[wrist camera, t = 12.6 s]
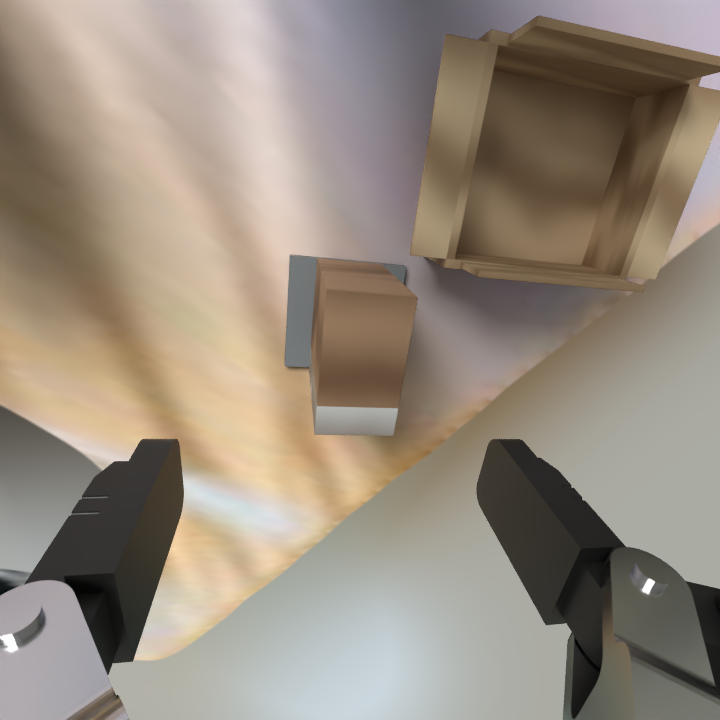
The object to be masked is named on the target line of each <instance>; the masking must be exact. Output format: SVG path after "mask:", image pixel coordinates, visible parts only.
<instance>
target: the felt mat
mask: <svg viewBox="0 0 720 720" xmlns="http://www.w3.org/2000/svg"><path fill="white" fill-rule="evenodd" d="M317 258H320V257H309V256H299V255H290V265H289V285H288V306H287V327H286V347H285V366H292V367H309V360H310V346H311V333H312V320H313V306H314V293H315V279H316V266H317ZM321 259H331V258H321ZM332 260H341V259H332ZM343 261H352V260H343ZM353 262H362V261H353ZM364 263H373V262H364ZM374 264H382V265H383V266H384V267H385V268H386V269H387V270H389V271H390V272H391V273H392V274H393V275H394V276H395V277H396V278H397V279H398V280H399V281H400V282H401V283H402V284H404V278H405V272H406V266H404V265H394V264H384V263H374Z"/></svg>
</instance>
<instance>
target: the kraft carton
mask: <svg viewBox="0 0 720 720" xmlns="http://www.w3.org/2000/svg"><path fill="white" fill-rule="evenodd" d="M718 72H720V57H719V56H714V55H710V54H706V53H701V52H697V51H692V50H688V49H684V48H679V47H675V46H670V45H666V44H662V43H657V42H653V41H648V40H644V39H640V38H635V37H631V36H626V35H622V34H618V33H613V32H609V31H604V30H600V29H596V28H591V27H587V26H582V25H578V24H574V23H569V22H565V21H560V20H556V19H552V18H547V17H543V16H537V17H535V18H534V19H532V20H531V21H530V22H528V23H527V24H525V25H524V26H522V27H521V28H519V29H518V30H516V31H515V32H513V33H512V34H510V33H506V32H501V31H496V30H492V29H491V30H490V31H489V32H487V33H486V34H485V35H484V36H482V37H481V38H480V39H478V40H474V39H469V38H464V37H459V36H455V35H450V34H446V35H445V39H444V45H443V51H442V57H441V64H440V70H439V76H438V82H437V88H436V95H435V101H434V107H433V113H432V119H431V125H430V132H429V138H428V144H427V150H426V156H425V163H424V169H423V175H422V181H421V187H420V194H419V200H418V206H417V212H416V218H415V225H414V231H413V237H412V243H411V249H410V255H412V256H422V257H426V258H428V259H430V260H432V261H433V262H435V263H437V264H439V265H440V266H442V267H444V268H452V269H463V270H465V271H467V272H469V273H471V274H473V275H475V276H477V277H483V278H494V279H504V280H515V281H526V282H537V283H548V284H559V285H570V286H580V287H591V288H602V289H613V290H624V291H635V292H644V289H645V286H642V285H639V284H636V283H632V282H629V281H626V278H627V277H633V278H643V279H653V280H655V279H656V277H657V274H658V272H659V269H660V267H661V265H662V262H663V260H664V257H665V255H666V252H667V250H668V247H669V245H670V242H671V240H672V237H673V235H674V232H675V230H676V227H677V225H678V222H679V220H680V217H681V215H682V212H683V210H684V207H685V205H686V202H687V200H688V197H689V195H690V192H691V190H692V188H693V185H694V183H695V180H696V178H697V175H698V173H699V170H700V168H701V165H702V163H703V160H704V158H705V155H706V153H707V150H708V148H709V145H710V143H711V140H712V138H713V135H714V133H715V130H716V128H717V125H718V123H719V120H720V91H719V90H714V89H709V88H704V87H699V86H698V85H699V82H700V80H701V77H703V76H706V75H710V74H714V73H718Z"/></svg>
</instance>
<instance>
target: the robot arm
mask: <svg viewBox="0 0 720 720" xmlns="http://www.w3.org/2000/svg"><path fill="white" fill-rule="evenodd" d="M183 498H184V487H183V477H182V466H181V456H180V446H179V442H178V440H177V439H142V440H141V441H140V442H139V444H138V446H137V448H136V449H135V451H134V453H133V455H132V456H131V458H130V460H129V461H115V462H113V463H112V464H111V465H109V466H108V467H107V468H106V469H104V470H103V471H102V472H100V473H99V474H98V475H97V476H95V477H94V479H93V480H92V482H91V483H90V485H89V486H88V488H87V489H86V491H85V492H84V494H83V495H82V499H81V500H79V502H78V503H77V505H76V506H75V508H74V509H73V511H72V515H71V516H69V517H68V518H67V520H66V521H65V523H64V525H63V526H62V527H61V529H60V531H59V532H58V534H57V535H56V537H55V538H54V540H53V541H52V543H51V544H50V546H49V547H48V549H47V551H46V552H45V554H44V555H43V557H42V558H41V560H40V561H39V563H38V564H37V566H36V567H35V569H34V570H33V572H32V573H31V575H30V577H29V578H28V580H27V581H26V582H25V584H24V585H22V586H19V587H17V588H15V589H12V590H10V591H8V592H6V593H4V594H3V595H1V596H0V720H129V717H128V715H127V713H126V710H125V708H124V706H123V703H122V701H121V699H120V697H119V696H118V695H117V696H116V694H115V692H114V690H113V688H112V685H111V683H110V680H109V678H108V674H109V671H110V669H111V666H112V663H121V662H132V661H133V659H134V656H135V653H136V650H137V647H138V644H139V641H140V638H141V635H142V632H143V629H144V626H145V623H146V620H147V617H148V614H149V611H150V608H151V605H152V601H153V598H154V595H155V592H156V589H157V586H158V583H159V580H160V577H161V574H162V571H163V568H164V565H165V562H166V559H167V556H168V553H169V550H170V547H171V544H172V541H173V538H174V535H175V531H176V528H177V525H178V522H179V519H180V516H181V512H182V507H183ZM477 498H478V502H479V505H480V507H481V509H482V511H483V513H484V515H485V516H486V518H487V520H488V522H489V524H490V526H491V527H492V529H493V531H494V533H495V534H496V536H497V538H498V540H499V542H500V543H501V545H502V547H503V549H504V550H505V552H506V554H507V556H508V558H509V560H510V561H511V563H512V565H513V567H514V569H515V570H516V572H517V574H518V576H519V577H520V579H521V581H522V583H523V585H524V586H525V588H526V590H527V592H528V594H529V595H530V597H531V599H532V601H533V603H534V605H535V606H536V608H537V610H538V612H539V613H540V615H541V617H542V619H543V621H544V623H545V624H546V625H552V624H563V623H567V625H568V626H569V628H570V629H571V631H572V633H571V635H570V637H569V639H568V644H567V660H566V676H565V695H564V709H563V720H720V589H717V588H713V587H709V586H704V585H700V584H696V583H691V582H687V581H685V580H684V579H683V578H682V577H681V576H680V574H679V573H677V572H676V571H675V570H674V569H673V568H672V567H671V566H670V565H668V564H667V563H666V562H664V561H662V560H661V559H659V558H658V557H656V556H654V555H652V554H650V553H648V552H645V551H643V550H640V549H636V548H631V547H626V546H625V545H624V544H623V543H622V542H621V541H620V540H619V538H617V536H616V535H615V534H614V533H613V532H612V531H611V529H610V528H609V527H608V526H607V525H606V524H605V523H604V522H603V520H602V519H601V518H600V517H599V516H598V515H597V514H596V512H595V511H594V510H593V509H592V508H591V507H590V506H589V505H588V503H587V502H586V501H583V500H582V497H581V495H579V493H578V492H577V491H576V490H575V489H574V488H571V484H570V483H569V482H568V481H567V480H566V479H565V478H564V476H563V475H562V474H561V473H560V472H559V471H558V470H557V469H556V468H554V467H553V466H551V465H549V464H548V463H547V462H545V461H544V460H543V459H541V458H537V457H536V455H535V454H534V453H533V452H532V451H531V450H530V449H529V447H528V446H527V445H526V444H525V443H524V442H523V441H522V440H520V439H493V440H491V441H490V443H489V444H488V447H487V451H486V454H485V458H484V461H483V465H482V468H481V472H480V475H479V479H478V482H477Z"/></svg>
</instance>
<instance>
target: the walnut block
mask: <svg viewBox="0 0 720 720" xmlns="http://www.w3.org/2000/svg"><path fill="white" fill-rule="evenodd" d="M417 299H418V297H416V296H415V295H414V294H413V293H412V292H411V291H410V290H409V289H408V288H407V287H406V286H405V285H404V284H402V283H401V282H400V281H399V280H398V279H397V278H396V277H395V276H394V275H393V274H392V273H391V272H390V271H389V270H387V269H386V268H385V267H384V266H383V265H382V264H374V263H364V262H353V261H343V260H332V259H321V258H317V266H316V279H315V293H314V306H313V320H312V333H311V346H310V360H309V373H310V385H311V398H312V410H313V422H314V434H315V435H375V436H393V435H394V430H395V424H396V418H397V413H398V407H399V401H400V396H401V390H402V384H403V379H404V373H405V367H406V362H407V356H408V350H409V345H410V339H411V333H412V328H413V322H414V316H415V311H416V305H417Z"/></svg>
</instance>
